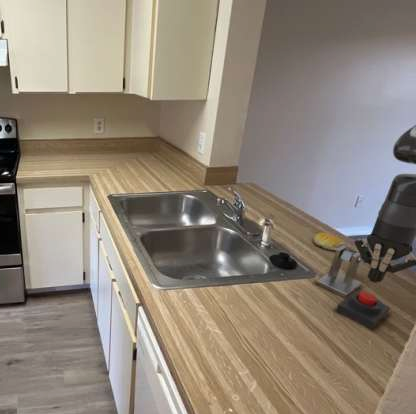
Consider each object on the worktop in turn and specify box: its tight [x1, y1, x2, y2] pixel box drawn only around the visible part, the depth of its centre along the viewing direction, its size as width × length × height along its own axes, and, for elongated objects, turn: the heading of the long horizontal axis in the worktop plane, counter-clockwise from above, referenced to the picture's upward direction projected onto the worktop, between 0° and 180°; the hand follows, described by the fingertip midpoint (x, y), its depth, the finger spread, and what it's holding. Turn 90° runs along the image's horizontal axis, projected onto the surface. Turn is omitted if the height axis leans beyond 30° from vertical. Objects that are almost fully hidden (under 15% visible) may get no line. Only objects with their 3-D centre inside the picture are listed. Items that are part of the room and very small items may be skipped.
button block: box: [336, 290, 391, 330], centre depth 87 cm, size 10×8×4 cm
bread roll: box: [313, 232, 345, 252], centre depth 119 cm, size 8×9×4 cm
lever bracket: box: [315, 244, 363, 299], centre depth 96 cm, size 10×8×12 cm
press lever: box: [341, 248, 363, 263], centre depth 97 cm, size 12×6×2 cm, turn 124°
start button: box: [358, 291, 378, 306], centre depth 86 cm, size 4×4×2 cm
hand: (373, 280), depth 84 cm, fingers closed
